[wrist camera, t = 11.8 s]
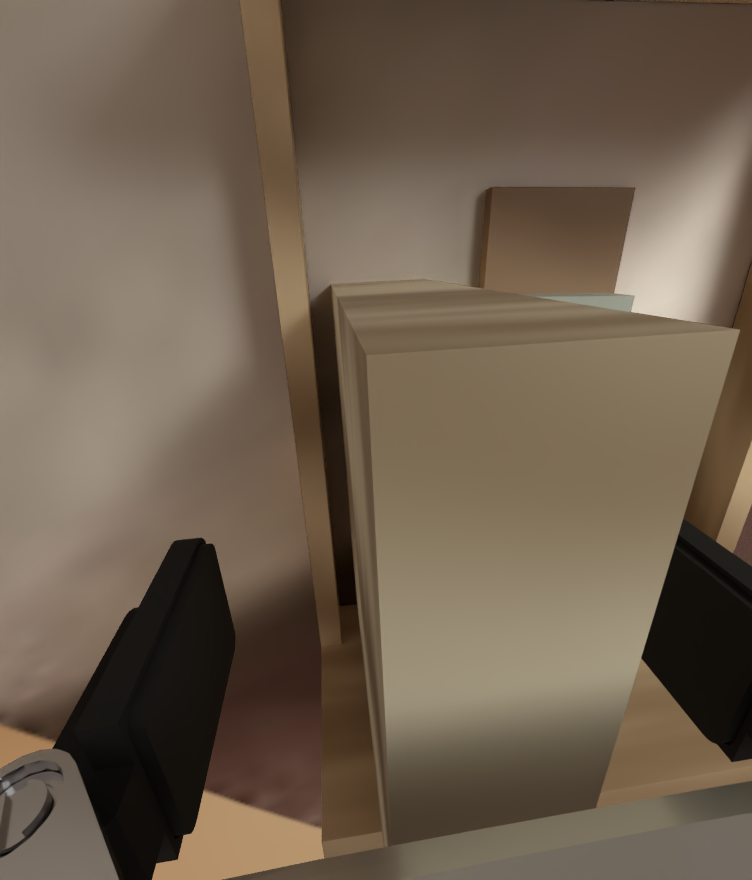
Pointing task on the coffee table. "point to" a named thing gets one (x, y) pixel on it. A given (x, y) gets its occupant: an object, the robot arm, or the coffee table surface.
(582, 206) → the offcut slab bottom
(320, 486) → the pine rack
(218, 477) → the coffee table surface
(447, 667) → the birch sheet
